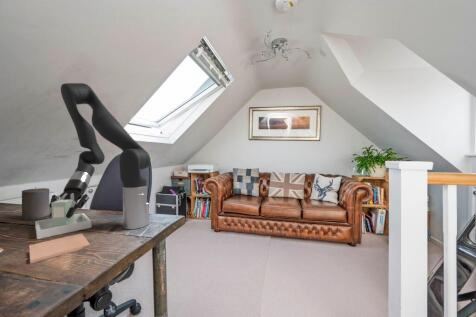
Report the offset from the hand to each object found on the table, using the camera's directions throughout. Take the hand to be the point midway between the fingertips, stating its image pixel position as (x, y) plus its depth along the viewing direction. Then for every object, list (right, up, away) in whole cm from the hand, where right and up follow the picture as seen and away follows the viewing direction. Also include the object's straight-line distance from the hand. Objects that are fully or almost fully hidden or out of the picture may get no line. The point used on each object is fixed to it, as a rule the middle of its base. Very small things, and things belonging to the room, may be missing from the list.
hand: (60, 217), depth 81 cm
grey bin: (0, -6, +2) cm, 6 cm away
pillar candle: (-27, -5, +17) cm, 33 cm away
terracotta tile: (+12, -6, -14) cm, 19 cm away
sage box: (0, -5, +2) cm, 5 cm away
